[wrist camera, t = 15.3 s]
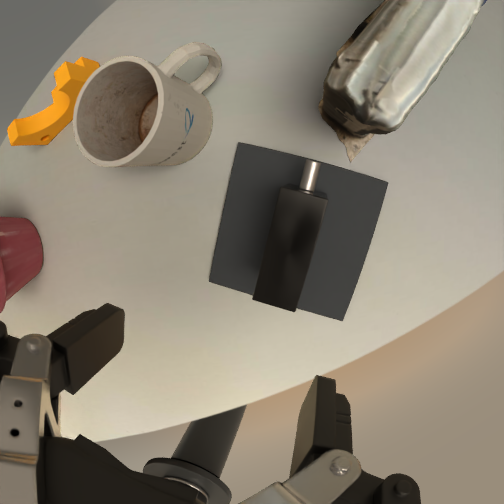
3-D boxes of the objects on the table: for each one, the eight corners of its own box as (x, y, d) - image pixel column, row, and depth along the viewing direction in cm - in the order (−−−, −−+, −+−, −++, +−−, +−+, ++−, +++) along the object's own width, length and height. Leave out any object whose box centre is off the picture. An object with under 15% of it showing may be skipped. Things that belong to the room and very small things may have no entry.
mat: (342, 318, 30) (342, 321, 30) (210, 279, 32) (208, 281, 32) (387, 182, 26) (388, 182, 25) (239, 142, 28) (238, 142, 27)
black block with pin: (333, 167, 26) (337, 166, 21) (300, 285, 30) (294, 312, 24) (295, 157, 27) (288, 153, 21) (265, 275, 30) (251, 299, 24)
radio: (350, 162, 26) (382, 154, 12) (279, 99, 26) (237, 35, 12) (479, 25, 19) (547, -33, 5) (417, -28, 18) (453, -109, 4)
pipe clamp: (98, 62, 28) (62, 50, 22) (108, 88, 29) (70, 78, 23) (40, 119, 32) (4, 118, 26) (47, 144, 33) (10, 145, 27)
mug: (160, 181, 31) (98, 189, 21) (125, 117, 30) (61, 107, 20) (262, 112, 27) (232, 85, 17) (217, 47, 26) (174, 4, 16)
